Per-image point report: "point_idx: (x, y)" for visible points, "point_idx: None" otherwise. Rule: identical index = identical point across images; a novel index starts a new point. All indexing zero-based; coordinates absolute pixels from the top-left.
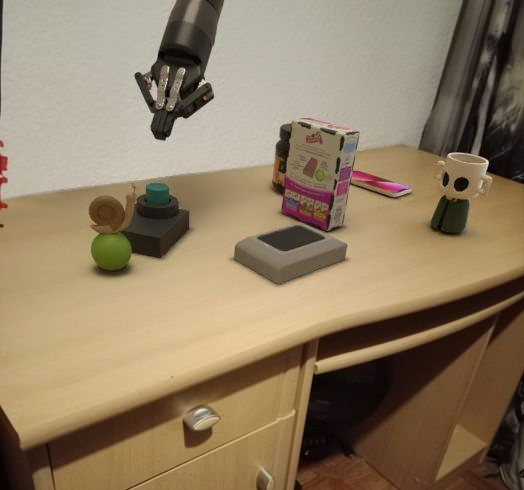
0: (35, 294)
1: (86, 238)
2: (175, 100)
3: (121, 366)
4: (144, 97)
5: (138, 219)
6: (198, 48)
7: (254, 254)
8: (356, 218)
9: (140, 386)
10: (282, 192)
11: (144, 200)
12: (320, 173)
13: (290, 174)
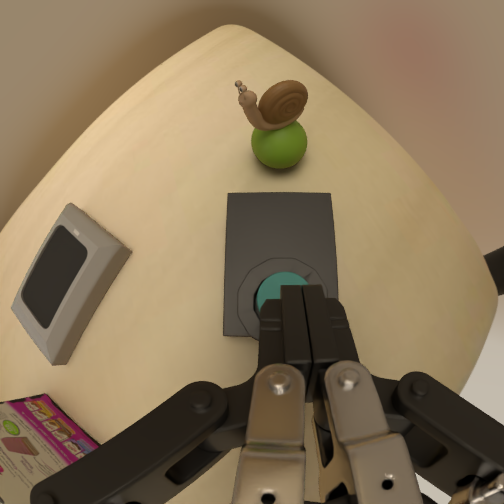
0: (316, 94)
1: (363, 222)
2: (253, 428)
3: (197, 57)
4: (447, 392)
5: (295, 246)
6: None
7: (95, 225)
8: None
9: (179, 53)
10: None
11: None
12: (8, 427)
13: None
